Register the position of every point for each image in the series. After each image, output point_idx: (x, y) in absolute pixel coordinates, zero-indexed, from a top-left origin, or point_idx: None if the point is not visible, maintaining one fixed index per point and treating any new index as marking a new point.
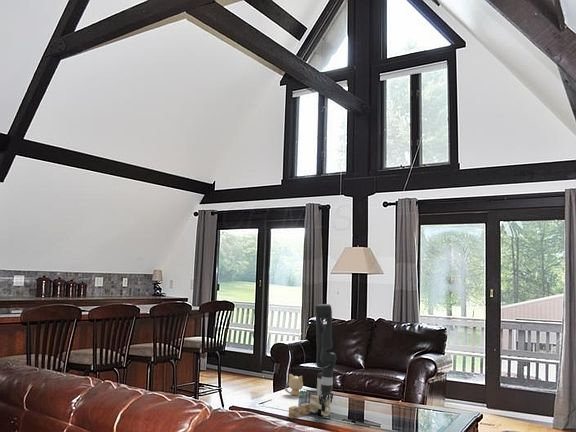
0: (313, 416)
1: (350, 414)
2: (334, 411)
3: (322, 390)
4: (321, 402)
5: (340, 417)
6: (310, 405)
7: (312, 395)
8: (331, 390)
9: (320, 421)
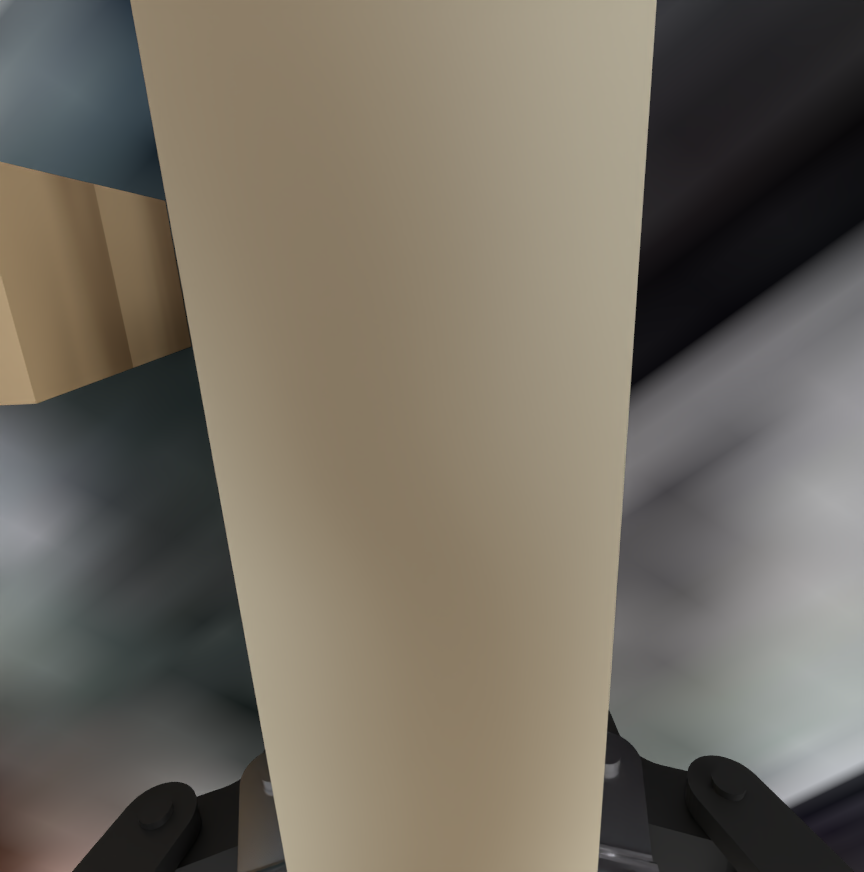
0: (108, 536)
1: (855, 808)
2: (829, 548)
3: None
4: (240, 832)
5: None
6: (71, 390)
7: (394, 50)
8: None
9: (17, 786)
